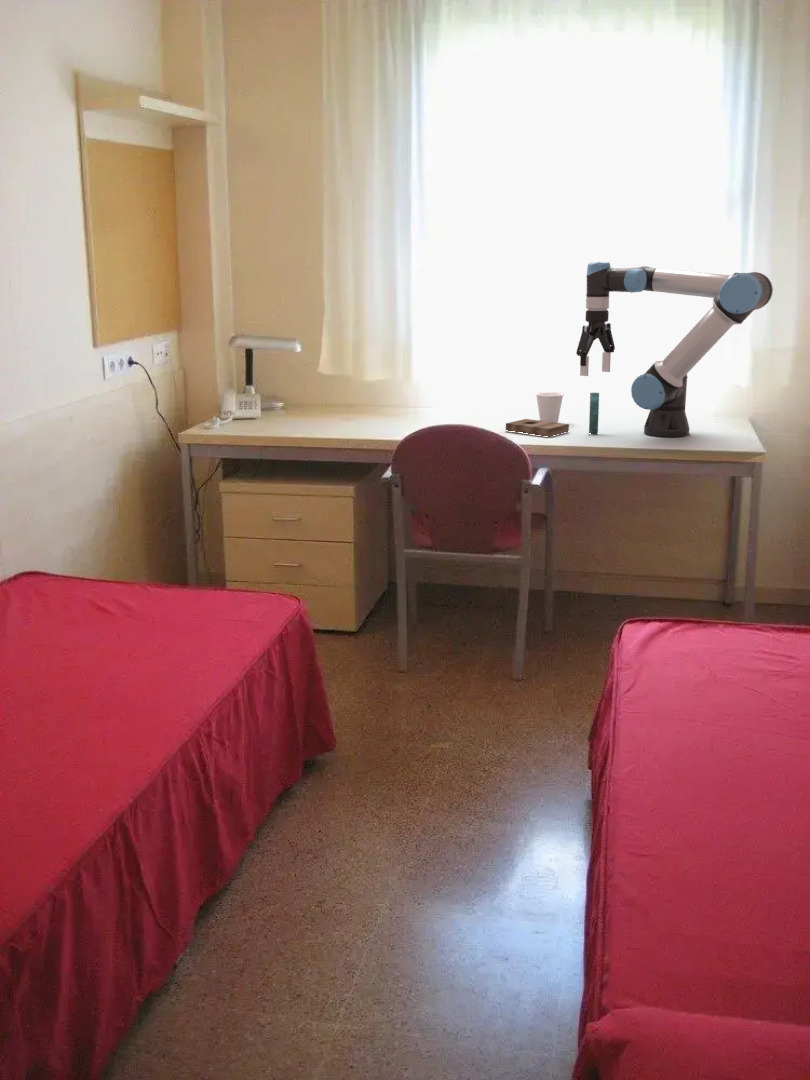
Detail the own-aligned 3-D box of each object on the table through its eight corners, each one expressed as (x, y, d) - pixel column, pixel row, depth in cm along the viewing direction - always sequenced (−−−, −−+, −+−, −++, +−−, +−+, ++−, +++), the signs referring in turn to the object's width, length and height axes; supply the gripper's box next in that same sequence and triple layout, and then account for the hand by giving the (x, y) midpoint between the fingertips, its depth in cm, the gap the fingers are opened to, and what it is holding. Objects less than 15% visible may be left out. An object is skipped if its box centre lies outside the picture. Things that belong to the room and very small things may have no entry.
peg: (599, 433, 393) (600, 393, 389) (594, 435, 391) (596, 394, 387) (591, 433, 395) (593, 392, 391) (587, 434, 393) (588, 393, 389)
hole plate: (568, 432, 396) (568, 424, 395) (548, 437, 387) (549, 428, 386) (525, 427, 407) (526, 418, 406) (505, 431, 399) (505, 423, 398)
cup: (543, 427, 406) (544, 396, 403) (530, 423, 415) (530, 393, 412) (567, 425, 410) (568, 394, 407) (554, 421, 419) (555, 391, 416)
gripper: (607, 307, 393) (605, 369, 399) (566, 311, 375) (565, 376, 381) (626, 307, 389) (624, 370, 394) (586, 312, 370) (584, 378, 376)
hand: (595, 373), depth 388 cm, fingers open, 13 cm apart
